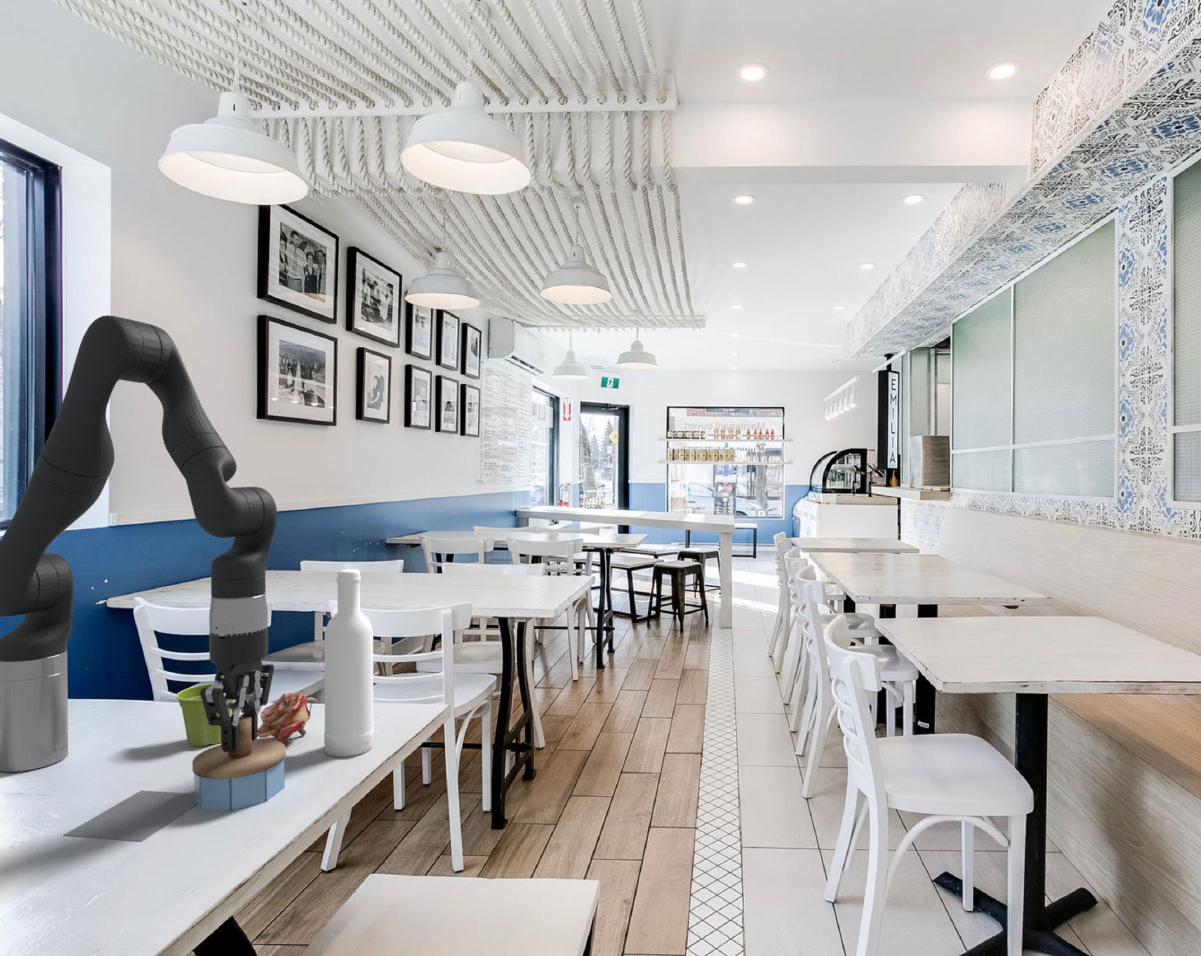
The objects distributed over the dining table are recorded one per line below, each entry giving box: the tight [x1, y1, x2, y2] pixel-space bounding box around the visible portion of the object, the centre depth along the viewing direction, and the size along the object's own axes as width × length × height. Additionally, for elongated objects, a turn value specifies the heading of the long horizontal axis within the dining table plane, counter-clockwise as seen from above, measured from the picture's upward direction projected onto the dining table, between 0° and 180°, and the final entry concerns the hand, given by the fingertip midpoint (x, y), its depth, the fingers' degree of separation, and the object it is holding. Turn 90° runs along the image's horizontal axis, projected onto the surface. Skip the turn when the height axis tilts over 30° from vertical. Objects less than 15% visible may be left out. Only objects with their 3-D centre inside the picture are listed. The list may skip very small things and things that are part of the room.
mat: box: [63, 790, 198, 843], centre depth 98 cm, size 11×13×1 cm
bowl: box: [193, 759, 286, 812], centre depth 105 cm, size 11×11×5 cm
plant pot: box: [175, 683, 234, 748], centre depth 126 cm, size 9×9×9 cm
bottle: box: [323, 568, 375, 758], centre depth 123 cm, size 8×8×30 cm
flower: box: [257, 689, 313, 743], centre depth 127 cm, size 10×9×8 cm
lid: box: [191, 715, 287, 779], centre depth 105 cm, size 12×12×6 cm
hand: (239, 744), depth 105 cm, fingers open, 3 cm apart
